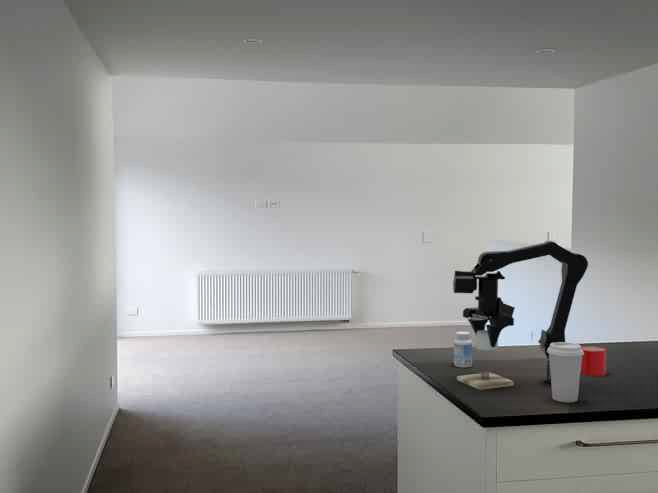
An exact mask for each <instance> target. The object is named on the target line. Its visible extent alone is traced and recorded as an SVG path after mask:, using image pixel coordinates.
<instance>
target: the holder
mask: <svg viewBox="0 0 658 493" xmlns="http://www.w3.org/2000/svg"><path fill="white" fill-rule="evenodd" d="M456 380H457V381H458V382H461V383H463V384H465V385H467V386H470V387H472V388H474V389H478V390H479V391H482V390H488V389H497V388H503V387H504V388H505V387H511V386H512V387H513V386H514V385H515V381H514V380H511V379H509V378H506V377H503V376H501V375H499V374H495V373H493V372H490V371H487V370H486V371H483V370H481V371H480V372H479V373H473V374H472V373H471V374H466V375H465V374H463V375H457V376H456Z"/></svg>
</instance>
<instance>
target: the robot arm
mask: <svg viewBox="0 0 658 493" xmlns="http://www.w3.org/2000/svg"><path fill="white" fill-rule="evenodd" d="M547 256H551V258H553V259H555V260H556V261H558V262H559V263H560V264H561V284H560V287H559V292H558V295H557V298H556V302H555V306H554V310H553V313H552V317H551V321H550V325H549V327H548V328H547V330H544V329H541V333H540V337H539V340H538V342H537V343H539V349H540V351H541V352H542V354H544V355H545V356H546V358H547V365H546V378H543V380H542V381H543V382H545V383H548V384H551V373H550V361H549V353H548V352H547V349H548V348H549V347H550V344H551V343H555V342H566V332H565V331H566V327H567V324H568V319H569V316H570V313H571V309H572V305H573V302H574V298H575V295H576V291H577V287H578V284H579V283H580V282H581V280H582V279H583V277H584V275H585V274H586V271H587V269H588V267H589V261H588V260H587V258H586V256H584V255H582V254H581V253H576V252H572V251H570V250H569V249H566V248H564V247H562V246H561V245H559V244H558V243H557V242H555V241H552V240H546V241H545V242H542V243H537V244H533V245H528V246H523V247H519V248H514V249H510V250H501V251H499V250H498V251H497V250H496V251H495V250H494V251H483V252H482V253H480V255H479V256H478V257H477V258H478V259H477V263H476V265H475V266H474V267H473V268H472V270H468V271H463V270H454V275H453V280H452V283H453V284H452V288H453V289H452V290H453V294H473V293H474V292H476V291H477V288H478V294H477V295H478V296H475V297H474V298H475V301H477V306H476V307H465V308H464V310H463V311H462V317H463V318H465V319H467V321H468V322H469V323H470V324H469V325H470V326H471V327H472V331H473V332H474V334H475V335H476V334H477V331H479V330H487V331H488V336H489V340H490V344H491V347H495V345H496V343H497V340H498V341H499V338H500V335H501V332H502V331H503V330H504V329H505V328H508V327H512V326H515V318H514V317H513V315H514V311H515V306H512V305H509V304H507V303H504V301H503V300H502V297H499V294H498V292H499V290H498V289H499V280H505V279H506V277H505V276H504V275H503V274H502V273H501V271H500V269H503V268H505V267H506V266H509V265H511V264H515V263H519V262H524V261H528V260H533V259H537V258H541V257H547ZM495 271H496V272H495ZM488 322H489V324H487V323H488ZM485 328H486V329H485Z"/></svg>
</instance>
